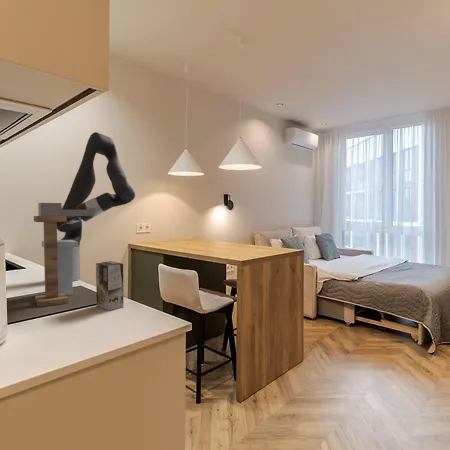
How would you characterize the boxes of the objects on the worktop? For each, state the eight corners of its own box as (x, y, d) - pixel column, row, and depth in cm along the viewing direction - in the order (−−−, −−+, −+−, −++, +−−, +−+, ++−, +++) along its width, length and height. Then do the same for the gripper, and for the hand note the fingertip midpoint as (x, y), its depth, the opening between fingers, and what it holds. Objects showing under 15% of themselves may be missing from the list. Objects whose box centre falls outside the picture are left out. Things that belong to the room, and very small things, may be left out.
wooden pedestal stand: (35, 300, 134) (33, 215, 133) (63, 297, 140) (62, 215, 138) (38, 307, 126) (36, 216, 125) (68, 303, 132) (66, 216, 130)
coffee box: (124, 307, 127) (124, 263, 126) (108, 310, 122) (107, 265, 122) (111, 302, 133) (111, 260, 133) (95, 305, 129) (95, 262, 128)
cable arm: (38, 216, 132) (38, 202, 132) (91, 215, 143) (91, 203, 143) (40, 216, 127) (40, 202, 126) (96, 216, 138) (95, 203, 137)
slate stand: (42, 292, 147) (41, 241, 146) (72, 289, 154) (72, 239, 153) (46, 298, 138) (45, 243, 136) (78, 294, 144) (77, 242, 143)
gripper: (90, 202, 158) (57, 218, 156) (81, 200, 144) (45, 218, 142) (98, 216, 158) (66, 233, 157) (90, 216, 144) (54, 235, 143)
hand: (56, 226), depth 150 cm, fingers open, 8 cm apart
